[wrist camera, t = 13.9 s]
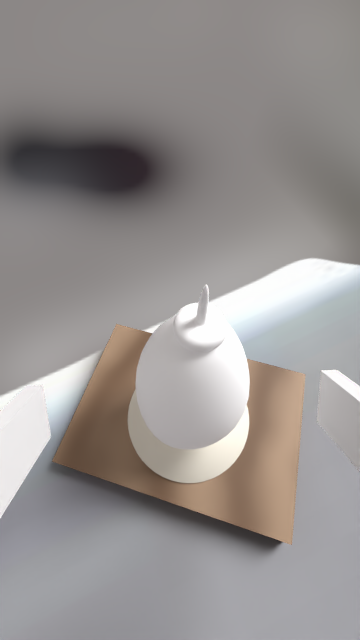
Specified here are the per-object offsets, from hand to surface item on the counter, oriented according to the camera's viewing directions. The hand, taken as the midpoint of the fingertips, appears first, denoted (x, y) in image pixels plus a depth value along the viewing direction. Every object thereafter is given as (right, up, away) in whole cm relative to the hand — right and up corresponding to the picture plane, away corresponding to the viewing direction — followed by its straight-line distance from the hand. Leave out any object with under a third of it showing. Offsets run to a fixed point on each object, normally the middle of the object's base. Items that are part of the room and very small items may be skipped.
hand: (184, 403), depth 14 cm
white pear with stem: (0, -5, +13) cm, 14 cm away
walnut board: (+1, -6, +15) cm, 16 cm away
